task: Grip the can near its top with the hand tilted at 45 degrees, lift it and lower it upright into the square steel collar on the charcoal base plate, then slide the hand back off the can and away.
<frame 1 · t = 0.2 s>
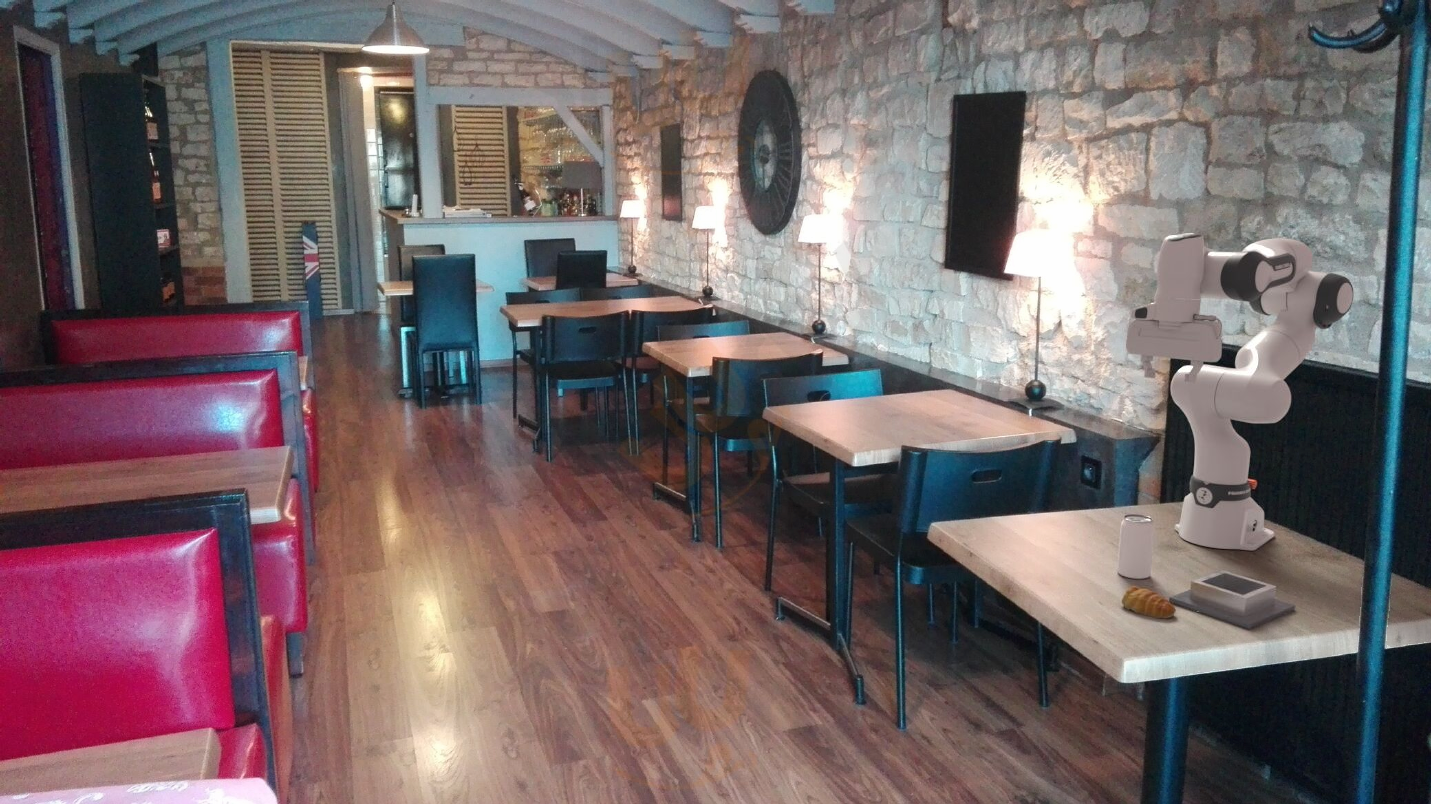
hand: (1169, 380, 230), 39 cm above the table, tool pointing down, fingers open, 8 cm apart
collar: (1231, 606, 212), on the table
pastry: (1146, 611, 211), on the table
can: (1133, 575, 229), on the table
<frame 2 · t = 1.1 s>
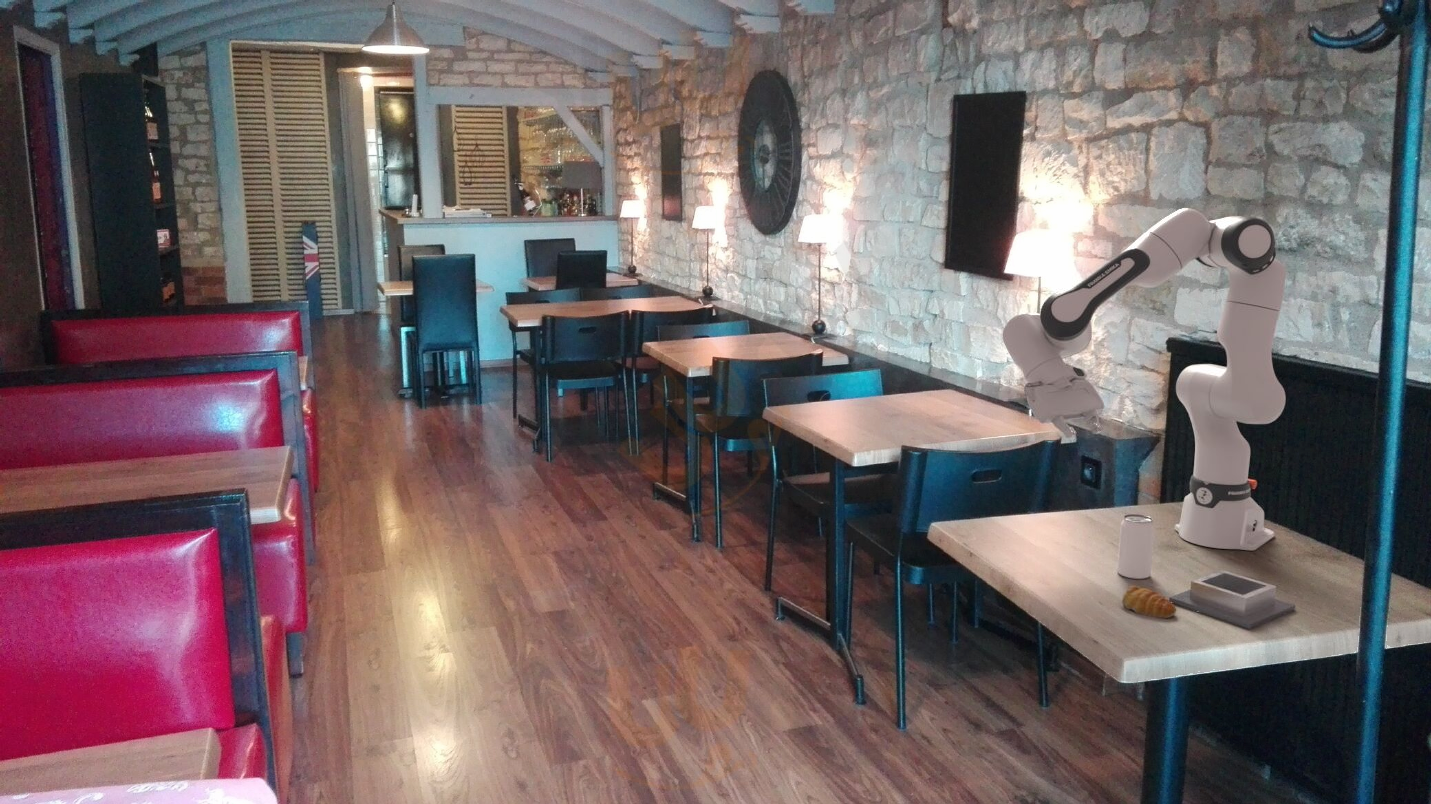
hand: (1085, 434, 234), 27 cm above the table, tool tilted 45°, fingers open, 8 cm apart
nothing on the table moved.
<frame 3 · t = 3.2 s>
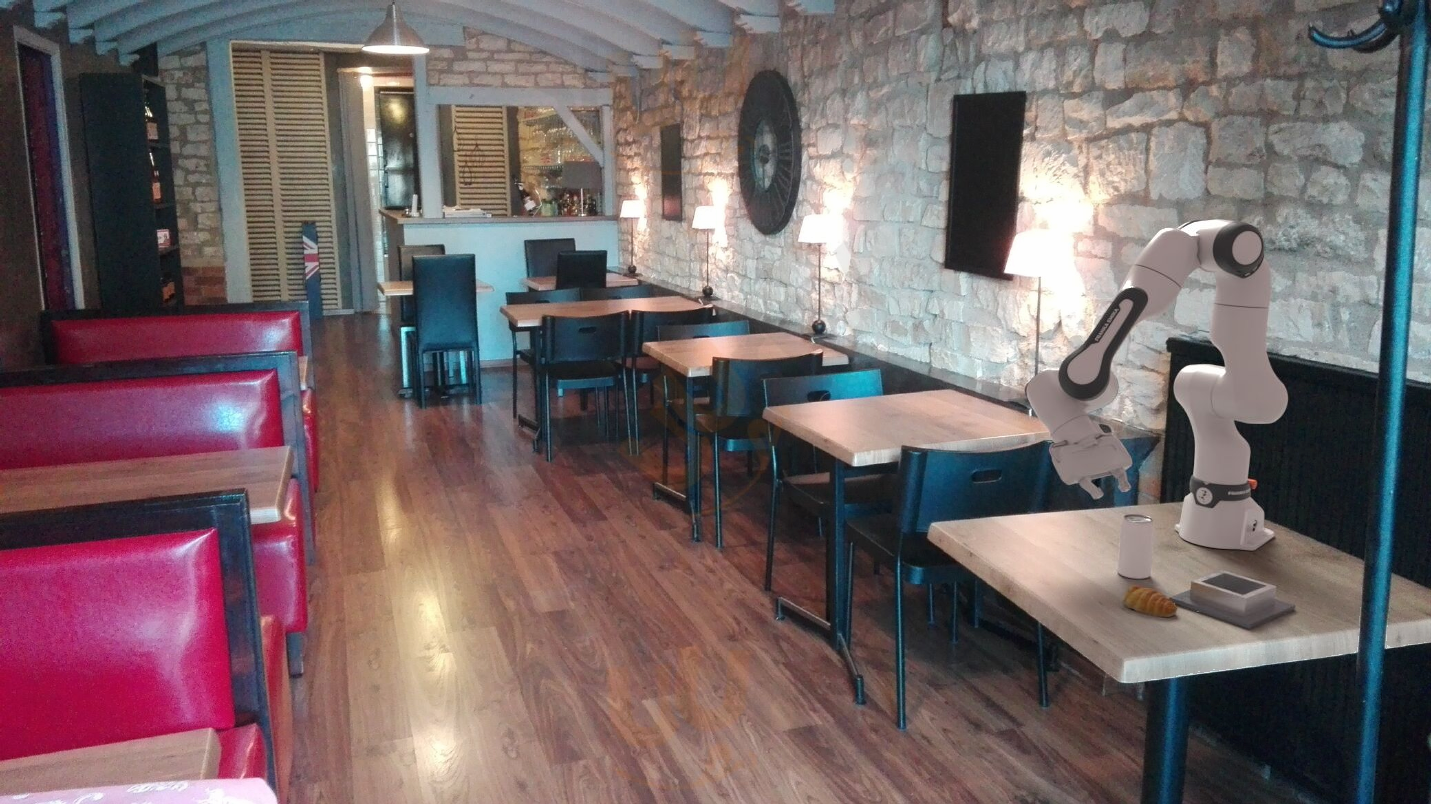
hand: (1113, 493, 231), 16 cm above the table, tool tilted 45°, fingers open, 8 cm apart
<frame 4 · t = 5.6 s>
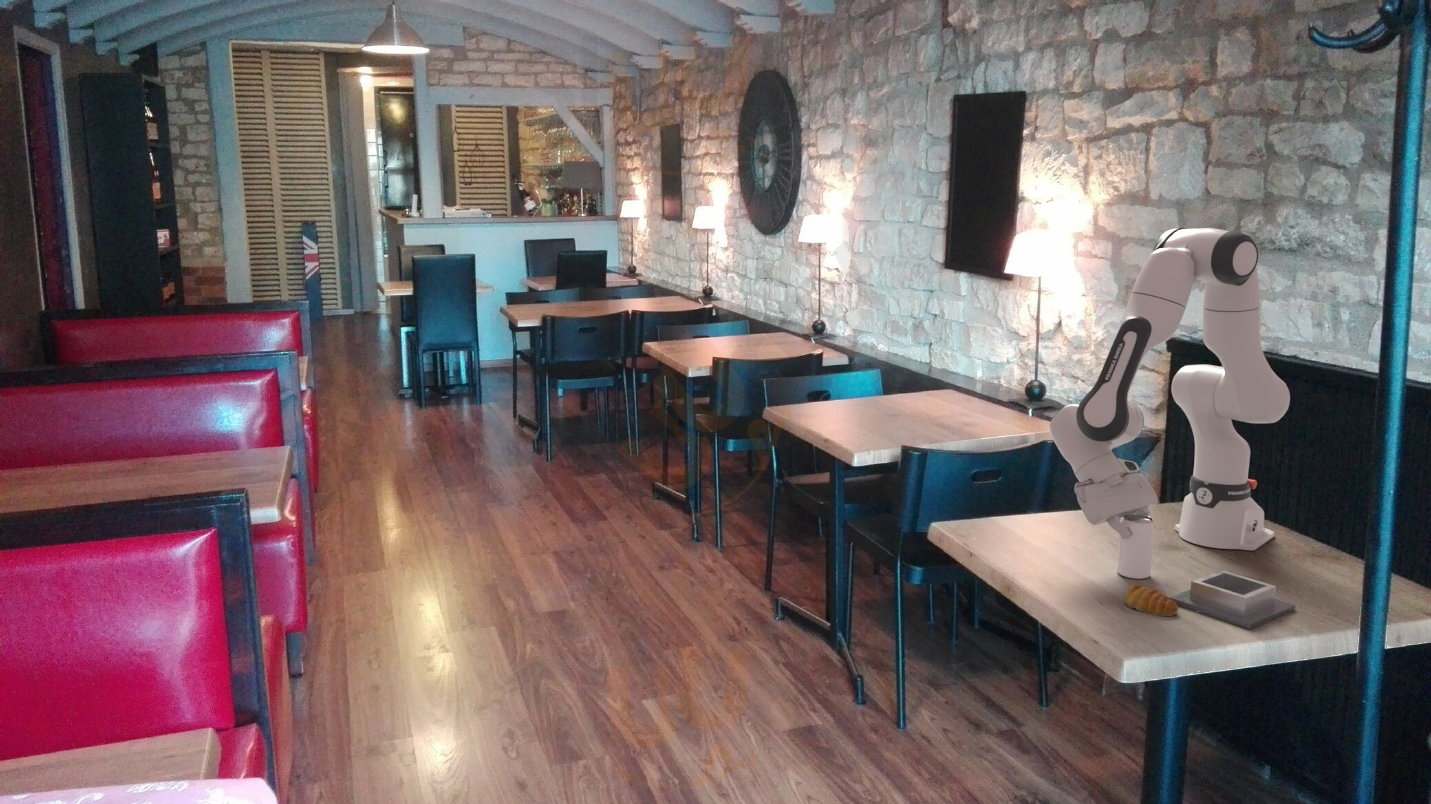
hand: (1139, 533, 227), 9 cm above the table, tool tilted 45°, fingers closed on can, 6 cm apart
can: (1133, 575, 229), on the table, touching gripper
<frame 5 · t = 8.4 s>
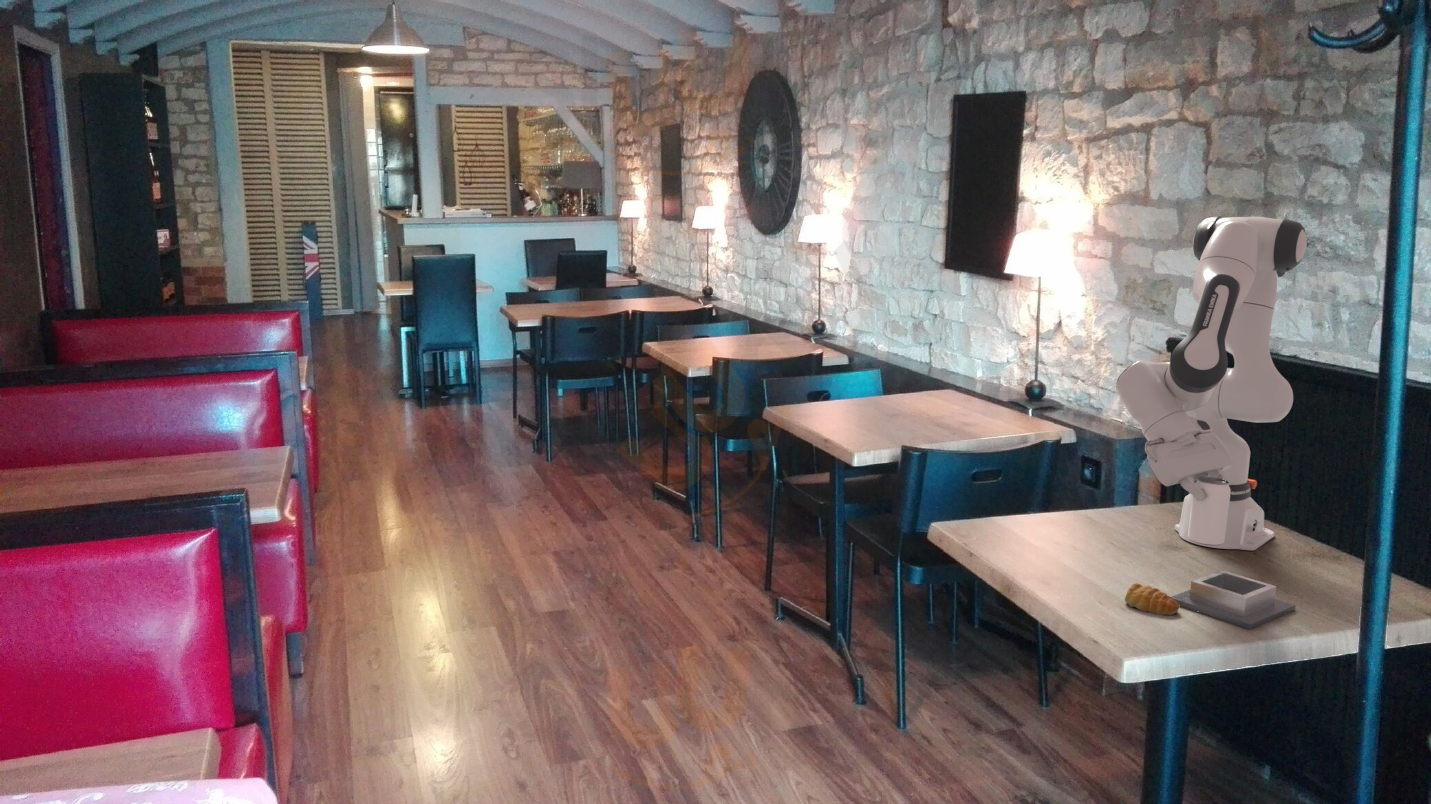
hand: (1214, 496, 212), 20 cm above the table, tool tilted 45°, fingers closed on can, 6 cm apart
can: (1205, 542, 214), point 11 cm above the table, touching gripper
when the fingers open (11 cm above the table, at t = 11.7 s): can stays where it is, resting on collar.
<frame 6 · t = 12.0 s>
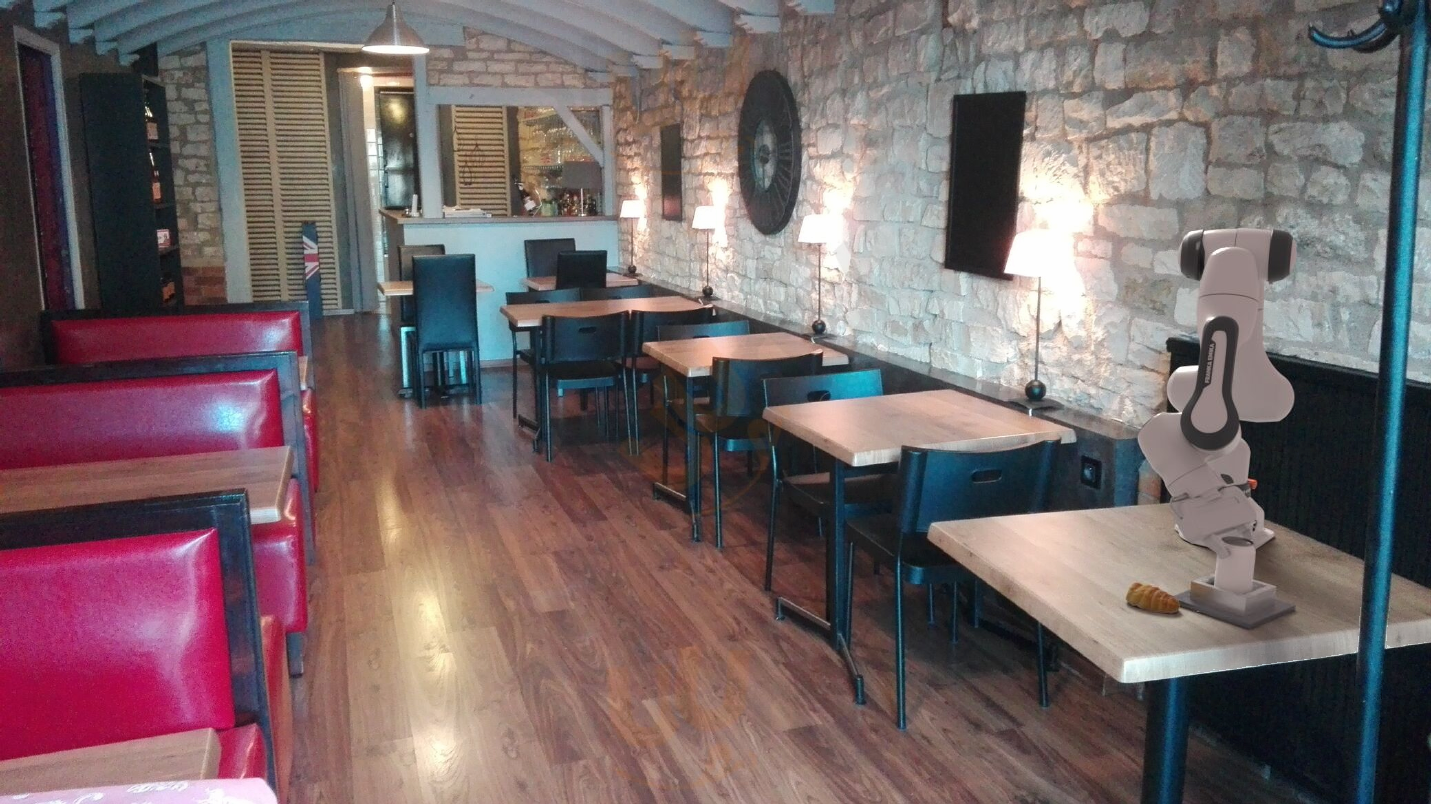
hand: (1240, 552, 210), 11 cm above the table, tool tilted 45°, fingers open, 8 cm apart
can: (1231, 602, 212), point 1 cm above the table, touching collar
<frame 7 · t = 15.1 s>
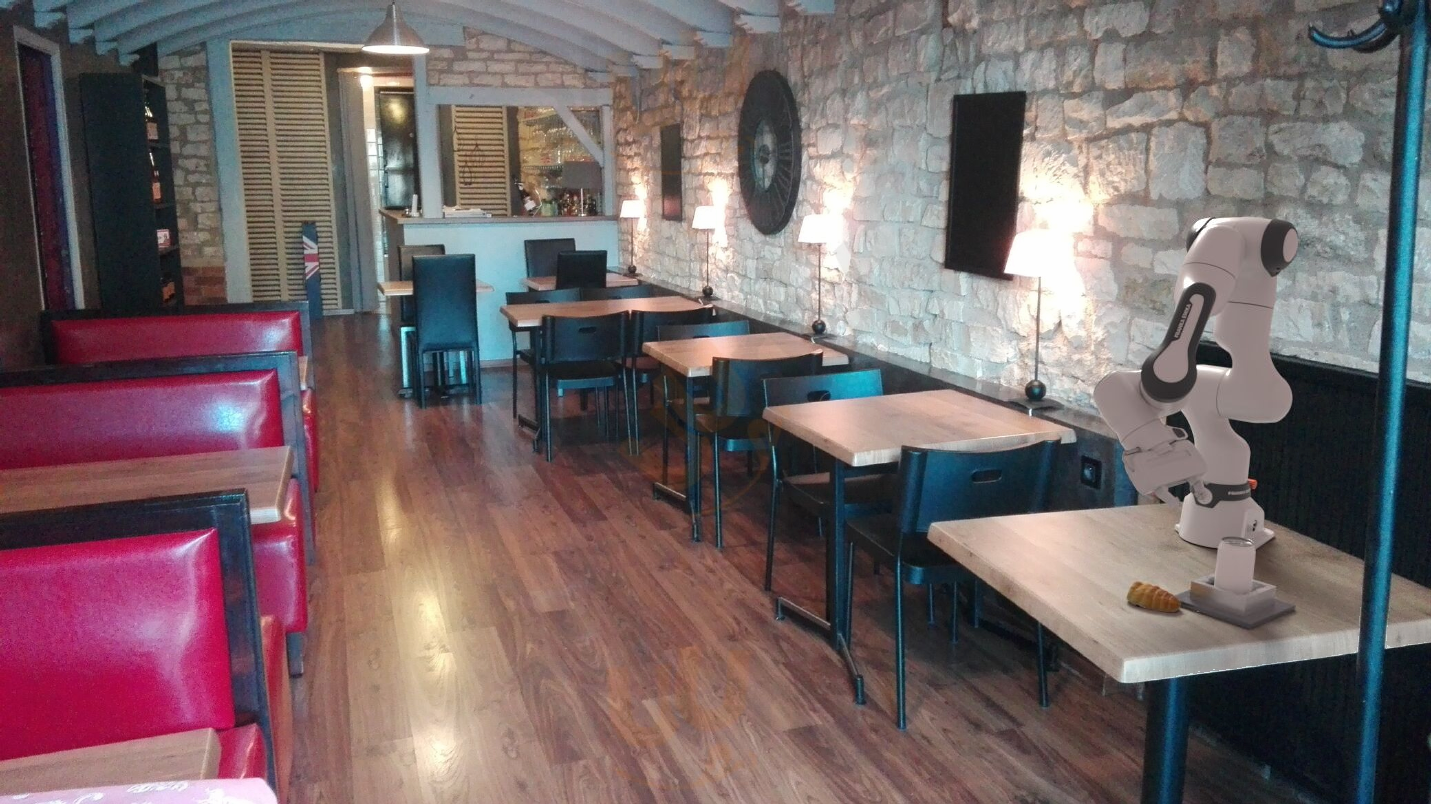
hand: (1190, 503, 217), 18 cm above the table, tool tilted 45°, fingers open, 8 cm apart
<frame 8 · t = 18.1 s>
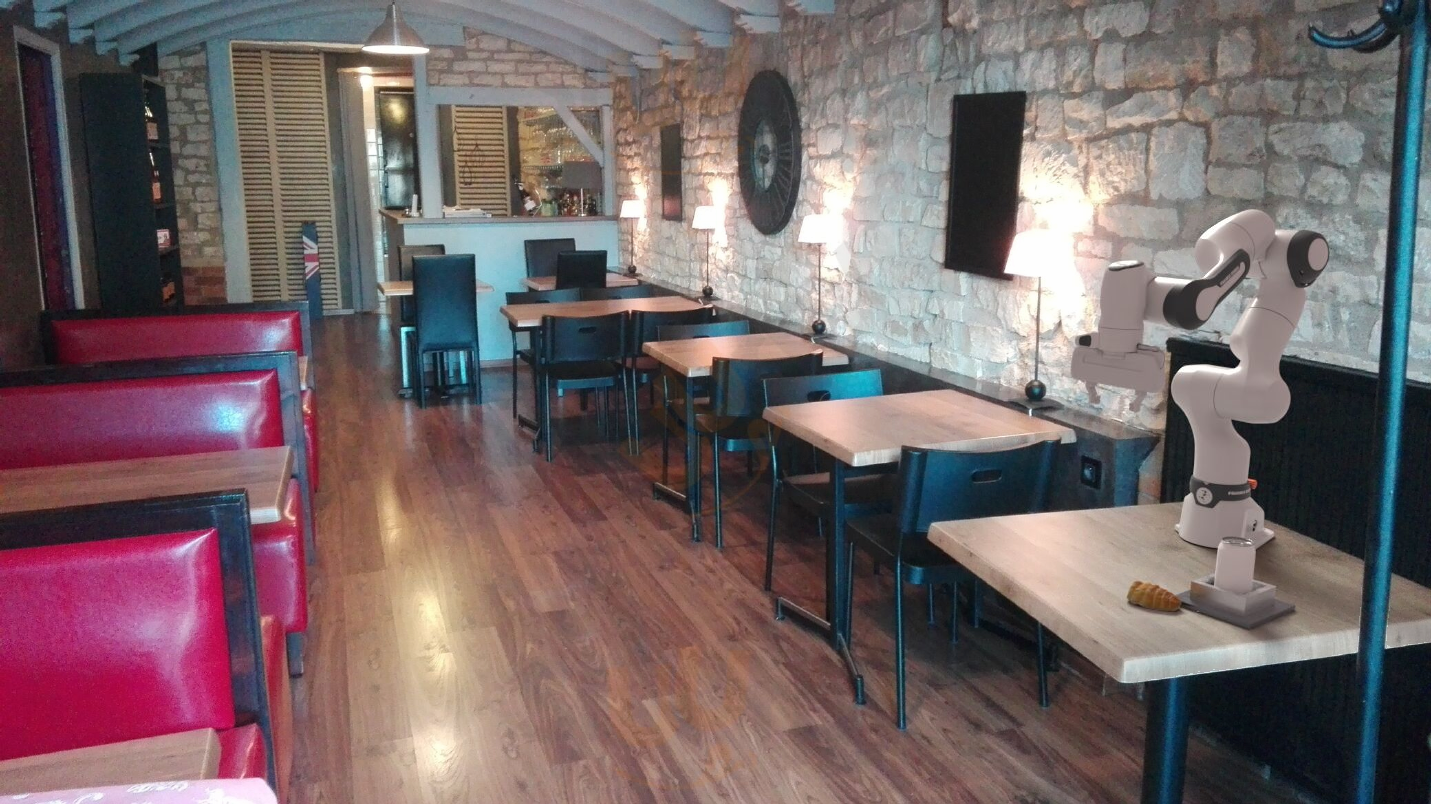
hand: (1114, 407, 231), 33 cm above the table, tool pointing down, fingers open, 8 cm apart
at the end: can 0.2 cm off-centre on the collar, point 0.8 cm above the collar's base; can tilted 0°; the gripper is holding nothing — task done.
